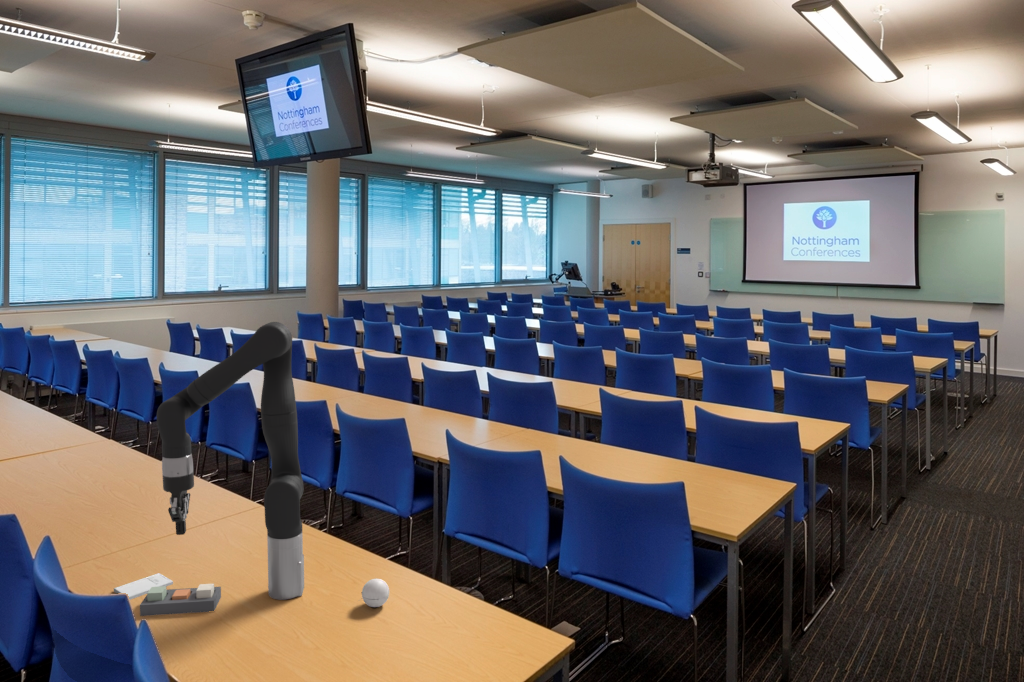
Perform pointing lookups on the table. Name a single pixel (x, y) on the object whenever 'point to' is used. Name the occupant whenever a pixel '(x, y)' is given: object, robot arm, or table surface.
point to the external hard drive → (143, 585)
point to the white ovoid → (375, 592)
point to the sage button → (157, 593)
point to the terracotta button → (181, 594)
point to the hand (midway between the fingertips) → (181, 533)
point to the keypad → (180, 604)
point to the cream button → (205, 591)
